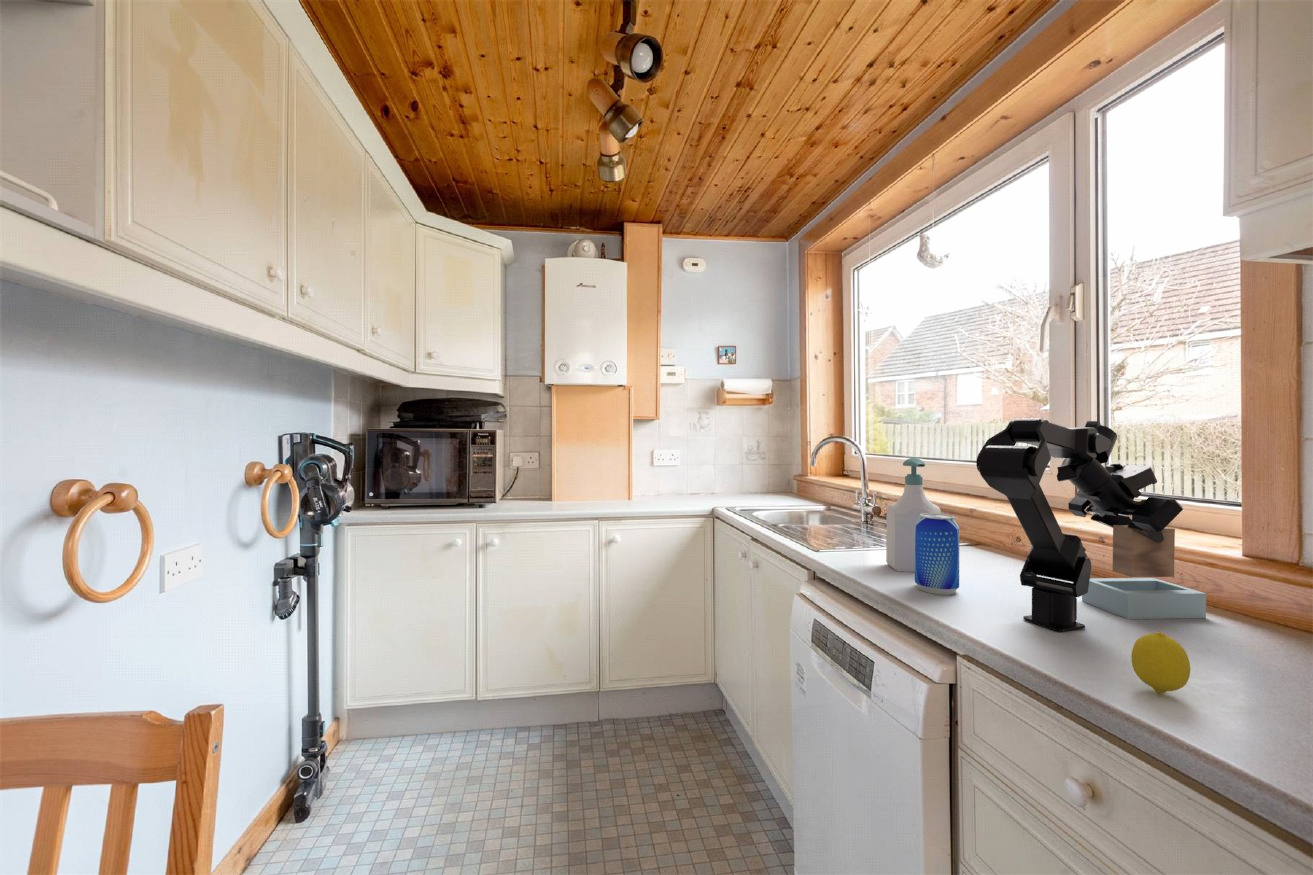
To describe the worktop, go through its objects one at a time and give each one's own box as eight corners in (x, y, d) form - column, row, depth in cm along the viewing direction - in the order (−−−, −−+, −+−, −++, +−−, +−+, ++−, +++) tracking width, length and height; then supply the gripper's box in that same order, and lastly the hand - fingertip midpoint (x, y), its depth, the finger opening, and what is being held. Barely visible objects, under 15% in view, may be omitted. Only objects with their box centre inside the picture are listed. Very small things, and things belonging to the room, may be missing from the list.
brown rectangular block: (1131, 577, 97) (1132, 528, 97) (1112, 571, 101) (1113, 524, 101) (1174, 576, 97) (1174, 528, 97) (1153, 571, 101) (1154, 524, 101)
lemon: (1119, 683, 71) (1120, 625, 71) (1157, 682, 71) (1157, 623, 71) (1162, 705, 65) (1163, 641, 65) (1202, 703, 66) (1203, 639, 66)
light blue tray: (1127, 618, 95) (1128, 594, 95) (1081, 600, 105) (1082, 578, 105) (1205, 618, 95) (1206, 593, 95) (1152, 600, 105) (1152, 577, 105)
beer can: (960, 587, 114) (960, 514, 114) (958, 598, 107) (958, 520, 106) (917, 581, 118) (917, 511, 118) (912, 591, 111) (912, 516, 111)
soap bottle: (897, 573, 126) (897, 458, 125) (886, 564, 134) (886, 456, 133) (945, 574, 124) (946, 458, 124) (931, 565, 133) (931, 457, 132)
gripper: (1172, 452, 90) (1235, 516, 90) (1082, 448, 108) (1135, 501, 109) (1126, 498, 90) (1189, 562, 90) (1044, 486, 108) (1097, 539, 109)
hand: (1150, 538), depth 99 cm, fingers closed on brown rectangular block, 4 cm apart
